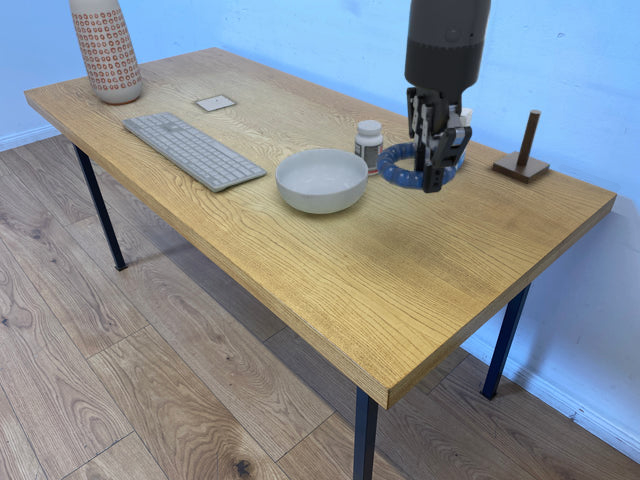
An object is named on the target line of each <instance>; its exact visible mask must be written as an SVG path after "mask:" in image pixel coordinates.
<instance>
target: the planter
mask: <svg viewBox="0 0 640 480" xmlns="http://www.w3.org/2000/svg"><path fill="white" fill-rule="evenodd" d="M68 4H69V9H70V10H69V11H70V14H71V19H72V23H73V28H74V31H75V36H76V40H77V42H78V43H77V44H78V45H79V46H78V47H79V50H80V54H81V57H82V61H83V65H84V68H85V71H86V74H87V78H88V81H89V85H90V86H91V89H92V91H93V93H94V94H95V96H97V98H99V99H100V100H101V101H103V102H104V103H105V104H107V105H110V106H122V105H127V104H131V103H133V102H135V101H136V100H138V97H139V95H140V94H141V92H142V89H143V79H142V74H141V70H140V67H139V64H138V60H137V55H136V52H135V48H134V46H133V42H132V39H131V35H130V33H129V30H128V25H127V23H126V19H125V17H124V13H123V11H122V7H121V5H120V2H119V0H68Z"/></svg>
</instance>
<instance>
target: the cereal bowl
mask: <svg viewBox="0 0 640 480" xmlns="http://www.w3.org/2000/svg"><path fill="white" fill-rule="evenodd" d="M274 177H275V183H276V184H275V185H276V188H277V191H278V194H279V195H280V196H281V198H282V200H283V201H284V202H285V203H286V204H287V205H289V206H290V207H292V208H294V209H296V210H297V211H300V212H304V213H306V214H307V213H308V214H317V215H319V214H320V215H323V214H325V215H326V214H332V213H336V212H340V211H343V210H346V209H347V208H349V207H351V206H353V205H354V204H355V203H357V202H358V201H359V200H360V198H361V197H363V195H364V193H365V191H366V189H367V186H368V182H369V175H368V166H367V164H366V162H365V161H364V160H363V159H362V158H360V157H359V156H357V155H355V153H353V152H350V151H347V150H343V149H340V148H339V149H338V148H329V147H328V148H326V147H325V148H324V147H323V148H320V147H319V148H311V149H306V150H301V151H298V152H296V153H292V154H291V155H289V156H287V157H285V158H284V159H283V160H281V161H280V162H279V164H278V165H277V167H276V169H275V172H274Z"/></svg>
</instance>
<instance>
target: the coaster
mask: <svg viewBox="0 0 640 480" xmlns="http://www.w3.org/2000/svg"><path fill="white" fill-rule="evenodd" d="M195 104H197V105H199V106H200V107H201V108H203V109H205V110H206V111H207V112H210V111H215V110H218V109H222V108H225V107H228V106H233V105H235V104H236V102H233V101H232V100H230V99H228V98H227V97H225V96H223V95H219V96H214V97H211V98H207V99H203V100H199V101H196V102H195Z"/></svg>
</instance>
